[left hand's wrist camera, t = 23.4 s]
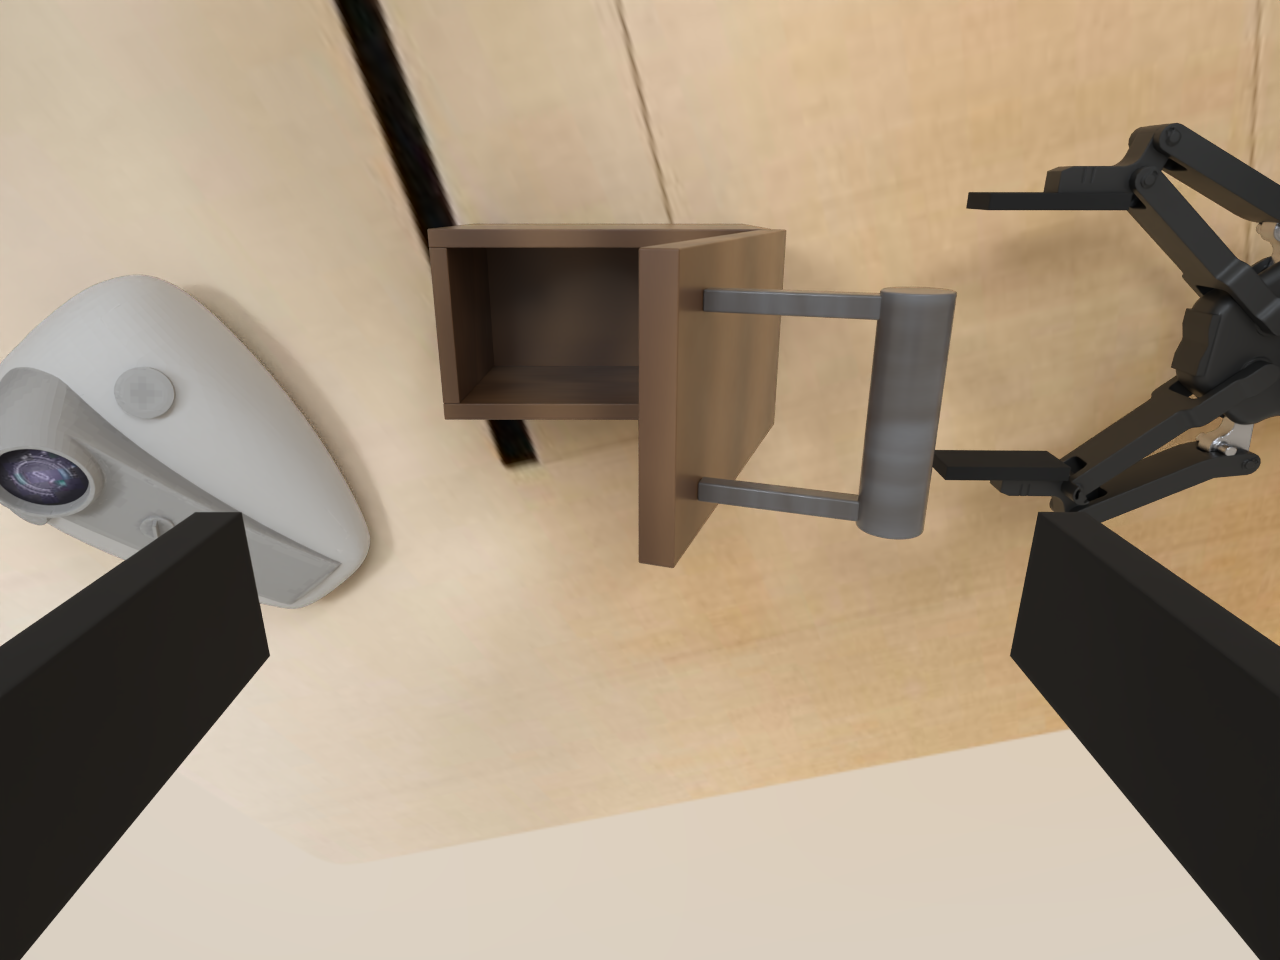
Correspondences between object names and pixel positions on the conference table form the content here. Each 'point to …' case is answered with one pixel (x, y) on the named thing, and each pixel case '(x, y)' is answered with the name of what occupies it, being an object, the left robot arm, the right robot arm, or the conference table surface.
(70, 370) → the projector
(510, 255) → the chest
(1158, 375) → the conference table surface
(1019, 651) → the left robot arm
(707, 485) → the lid
